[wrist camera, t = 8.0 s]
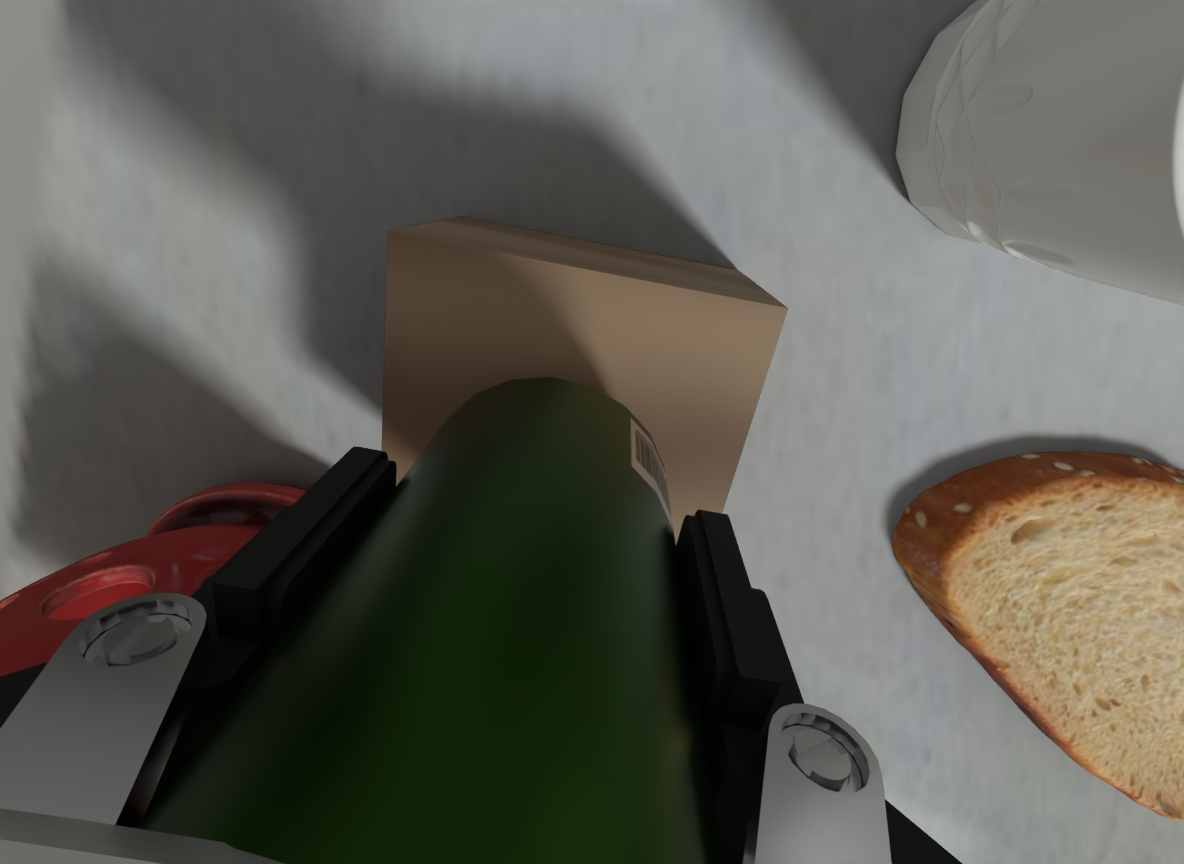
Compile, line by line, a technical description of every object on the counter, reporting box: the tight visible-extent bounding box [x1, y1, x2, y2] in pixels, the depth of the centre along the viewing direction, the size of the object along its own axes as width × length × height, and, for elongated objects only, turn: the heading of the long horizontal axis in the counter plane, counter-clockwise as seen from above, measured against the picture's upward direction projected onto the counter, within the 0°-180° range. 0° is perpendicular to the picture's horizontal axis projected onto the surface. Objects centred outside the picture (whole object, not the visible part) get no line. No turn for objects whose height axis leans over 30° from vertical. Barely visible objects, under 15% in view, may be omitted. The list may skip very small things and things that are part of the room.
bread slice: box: [892, 452, 1184, 821], centre depth 22 cm, size 18×18×4 cm
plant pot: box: [0, 483, 307, 676], centre depth 19 cm, size 13×13×12 cm
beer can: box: [137, 377, 722, 864], centre depth 8 cm, size 5×5×12 cm
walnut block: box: [382, 216, 788, 544], centre depth 17 cm, size 9×9×6 cm
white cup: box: [896, 0, 1184, 306], centre depth 11 cm, size 8×8×10 cm
